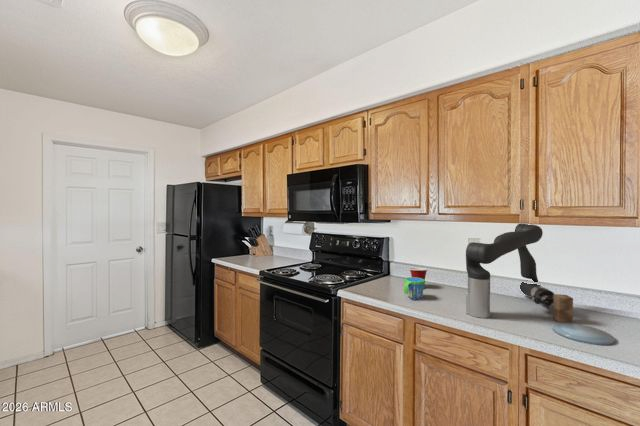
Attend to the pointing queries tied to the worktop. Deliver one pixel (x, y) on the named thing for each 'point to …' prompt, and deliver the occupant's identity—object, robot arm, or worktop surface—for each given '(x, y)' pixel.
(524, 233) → the robot arm
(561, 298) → the walnut block
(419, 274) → the plastic cup
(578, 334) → the slate plate
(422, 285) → the snack cup
